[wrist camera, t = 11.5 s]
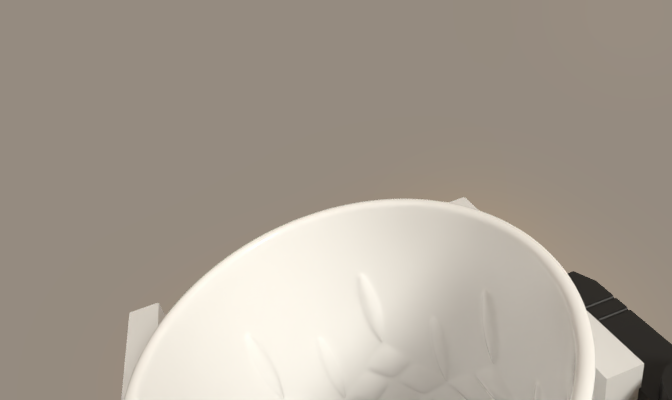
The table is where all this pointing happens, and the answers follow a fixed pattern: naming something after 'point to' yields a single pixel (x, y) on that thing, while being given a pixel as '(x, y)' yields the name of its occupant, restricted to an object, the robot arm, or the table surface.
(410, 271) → the white cup
